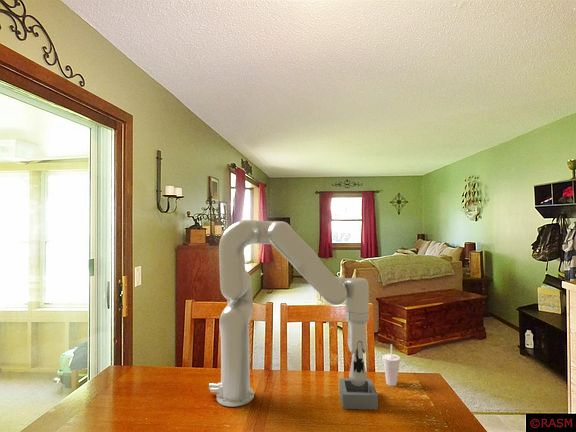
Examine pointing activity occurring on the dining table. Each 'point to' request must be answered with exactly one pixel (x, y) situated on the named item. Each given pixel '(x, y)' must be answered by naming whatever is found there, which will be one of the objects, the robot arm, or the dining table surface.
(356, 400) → the socket holder
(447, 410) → the dining table surface
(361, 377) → the salt shaker
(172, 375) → the dining table surface
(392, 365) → the smoothie
